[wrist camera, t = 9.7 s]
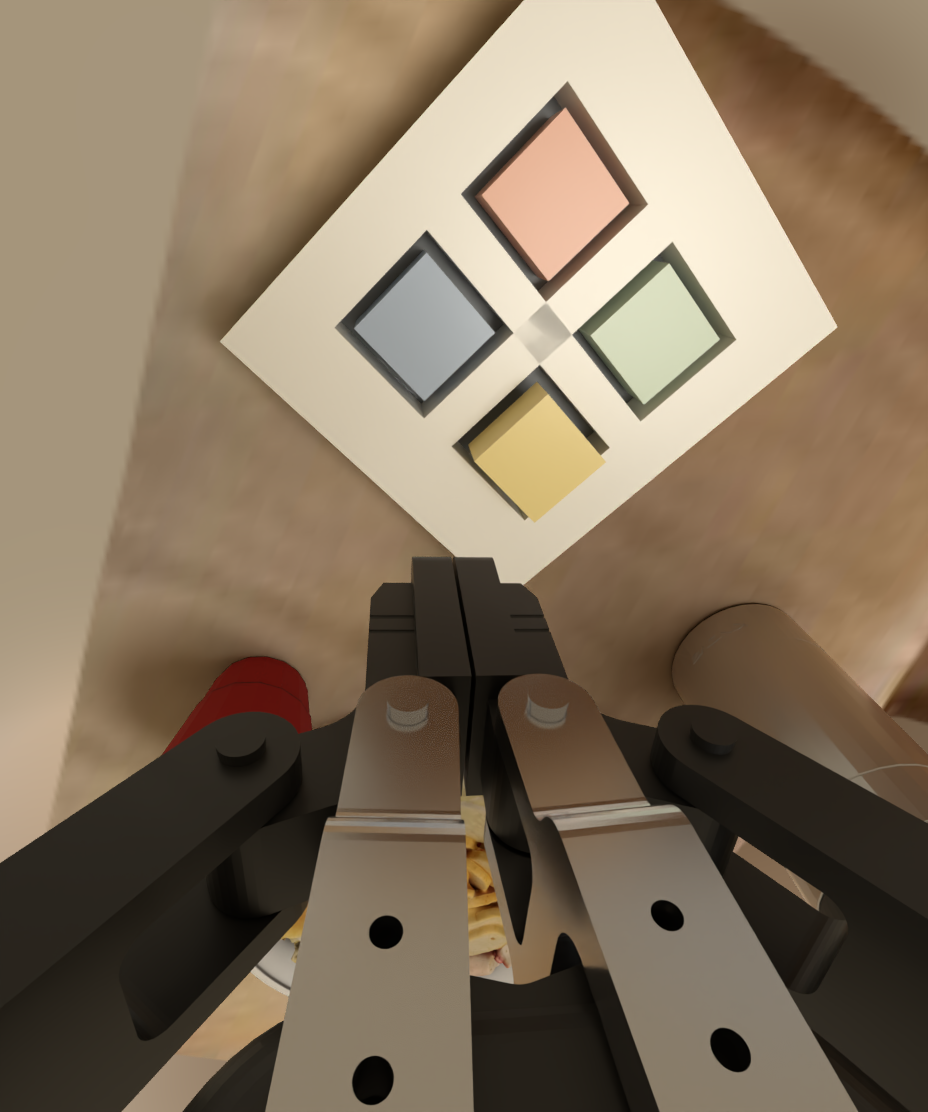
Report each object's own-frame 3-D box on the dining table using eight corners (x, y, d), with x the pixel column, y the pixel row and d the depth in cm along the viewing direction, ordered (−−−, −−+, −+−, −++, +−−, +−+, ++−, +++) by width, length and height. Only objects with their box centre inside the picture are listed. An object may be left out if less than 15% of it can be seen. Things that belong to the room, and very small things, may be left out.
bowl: (210, 707, 42) (176, 803, 35) (642, 699, 46) (688, 784, 39) (249, 969, 56) (230, 1075, 49) (578, 946, 60) (603, 1041, 53)
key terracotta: (611, 204, 29) (629, 203, 26) (536, 276, 30) (548, 281, 28) (551, 115, 27) (565, 107, 25) (474, 196, 28) (481, 195, 26)
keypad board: (788, 314, 34) (837, 327, 30) (493, 564, 39) (504, 600, 35) (573, -47, 26) (604, -91, 22) (239, 326, 31) (219, 341, 27)
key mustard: (591, 445, 32) (606, 461, 30) (525, 503, 33) (534, 522, 31) (536, 381, 30) (548, 394, 28) (468, 444, 31) (474, 461, 29)
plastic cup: (174, 608, 38) (93, 759, 27) (355, 634, 40) (345, 782, 30) (167, 743, 43) (96, 915, 32) (330, 759, 45) (312, 925, 34)
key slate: (487, 324, 30) (495, 332, 28) (421, 388, 32) (424, 401, 29) (423, 249, 29) (426, 252, 26) (356, 320, 30) (353, 328, 28)
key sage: (697, 331, 32) (719, 339, 30) (627, 392, 33) (644, 404, 31) (649, 260, 30) (669, 263, 28) (576, 327, 31) (590, 335, 29)
